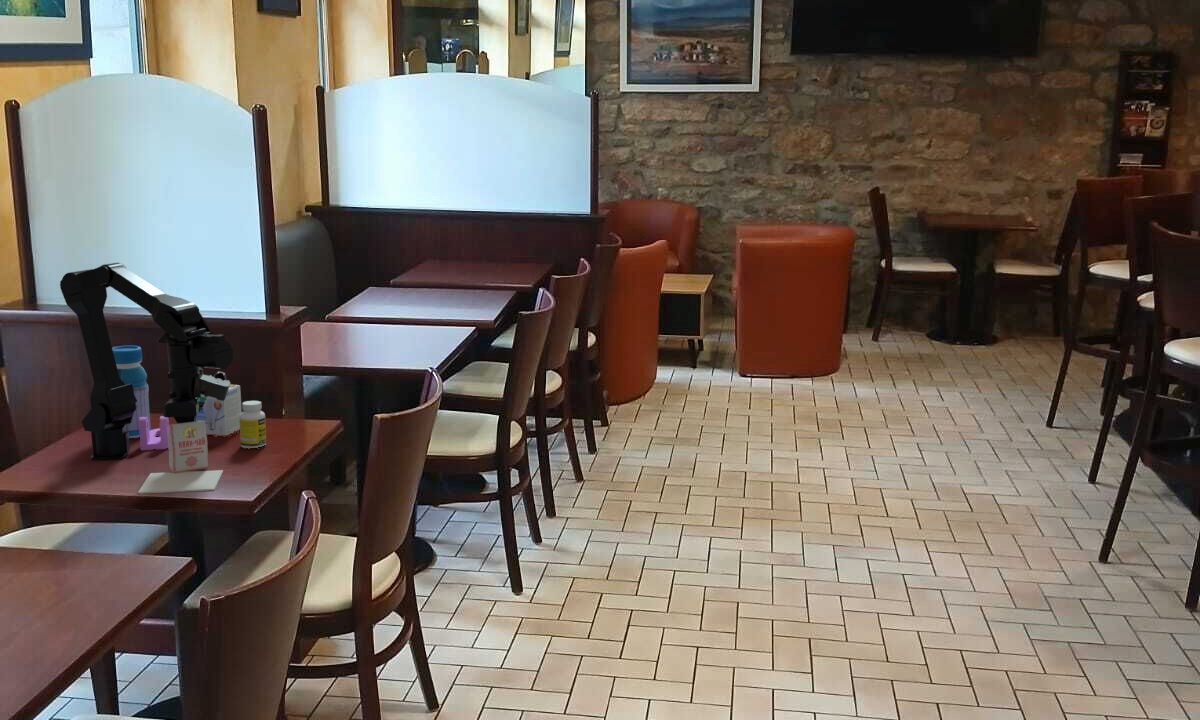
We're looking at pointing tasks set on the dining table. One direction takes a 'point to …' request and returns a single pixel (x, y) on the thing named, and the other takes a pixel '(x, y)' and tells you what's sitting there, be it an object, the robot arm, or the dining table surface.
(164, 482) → the mat
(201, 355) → the robot arm
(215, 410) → the light bulb box
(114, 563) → the dining table surface
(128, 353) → the beverage bottle
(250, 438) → the supplement bottle
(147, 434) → the bracket
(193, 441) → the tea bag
